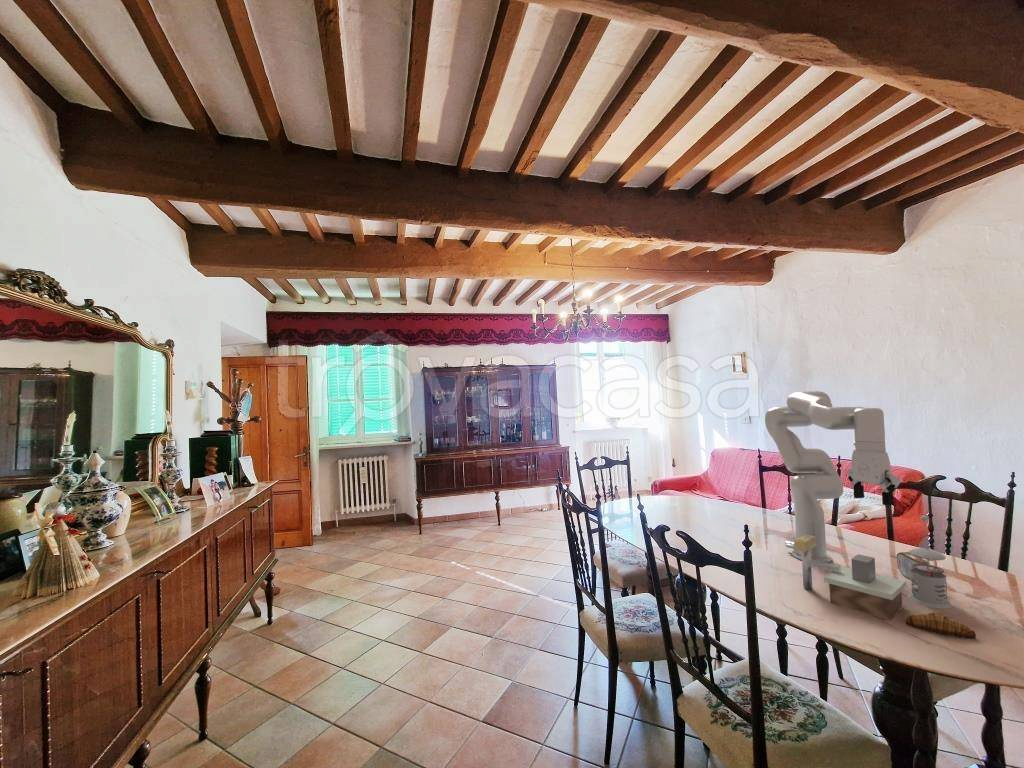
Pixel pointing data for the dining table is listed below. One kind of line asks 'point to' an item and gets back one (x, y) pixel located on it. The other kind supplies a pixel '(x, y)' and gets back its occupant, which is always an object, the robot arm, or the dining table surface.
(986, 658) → the dining table surface
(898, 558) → the tin
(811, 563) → the key
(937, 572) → the french press
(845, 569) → the cover
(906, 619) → the croissant
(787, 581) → the dining table surface
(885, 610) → the housing
